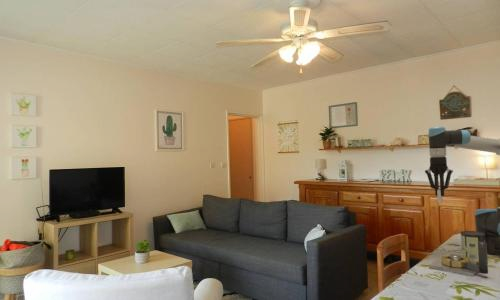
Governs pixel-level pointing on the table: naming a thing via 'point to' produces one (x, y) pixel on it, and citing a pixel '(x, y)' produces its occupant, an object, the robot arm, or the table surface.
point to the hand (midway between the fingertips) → (440, 202)
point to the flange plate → (464, 271)
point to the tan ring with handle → (466, 260)
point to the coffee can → (471, 244)
